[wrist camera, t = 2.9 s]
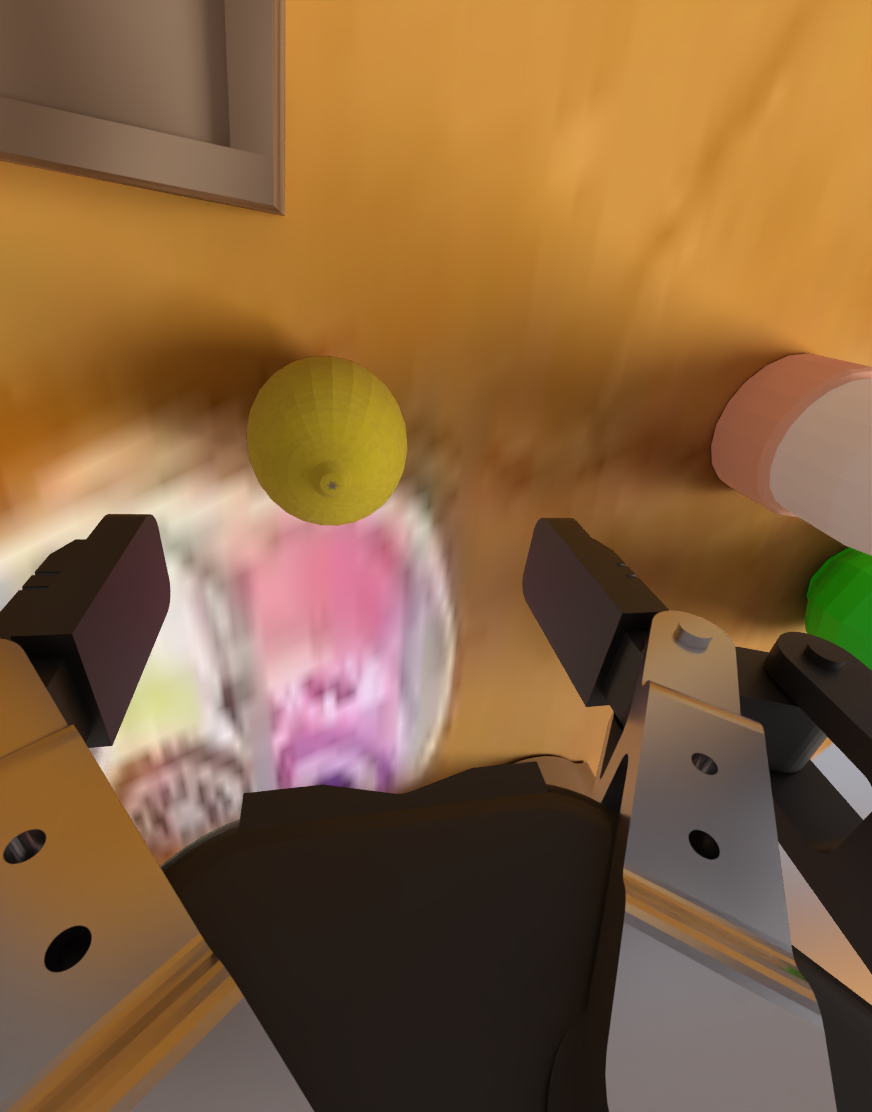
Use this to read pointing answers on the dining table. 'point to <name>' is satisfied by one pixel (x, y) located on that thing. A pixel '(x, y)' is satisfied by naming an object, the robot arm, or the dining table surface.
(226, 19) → the walnut box
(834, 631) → the plastic bottle
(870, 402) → the salt shaker
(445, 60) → the dining table surface
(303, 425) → the lemon
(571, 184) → the dining table surface
